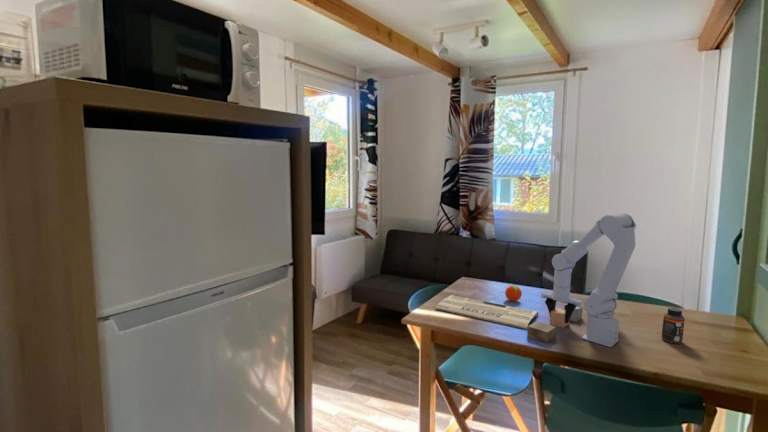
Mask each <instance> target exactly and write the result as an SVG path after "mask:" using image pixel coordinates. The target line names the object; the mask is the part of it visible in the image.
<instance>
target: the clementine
mask: <svg viewBox="0 0 768 432" xmlns="http://www.w3.org/2000/svg"><path fill="white" fill-rule="evenodd" d="M504 293H505V297H506V299H507V300H509V301H510V302H518V301H519V300H520V299H521V298H522V294H523V293H522V290H521V289H520V287H519V286H517V285H510V286H509V285H508V287H507V288H506V289H505V291H504Z"/></svg>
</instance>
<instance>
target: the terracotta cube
mask: <svg viewBox="0 0 768 432" xmlns="http://www.w3.org/2000/svg"><path fill="white" fill-rule="evenodd" d="M569 323H570V321H569V322H568V323H565V310H564V309H562V308H557V307H555V309H554V310H552V311H551V315H550V314H549V325H552V326H555V327H559V328H562V329H563V328H566V326H568V325H570V324H569Z"/></svg>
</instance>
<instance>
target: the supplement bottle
mask: <svg viewBox="0 0 768 432" xmlns="http://www.w3.org/2000/svg"><path fill="white" fill-rule="evenodd" d="M682 314H683V310H682V309H681V308H677V307H672V306H671V307H667V312H666V313H664V315H663V321H662V329H661V330H662V331H661V339H662V340H663V341H665V342H667V343H671V344H675V343H679V344H681V343H683V340H684V339H683V338H684V330H685V320H686V319H685V317H684V316H683V315H682Z"/></svg>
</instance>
